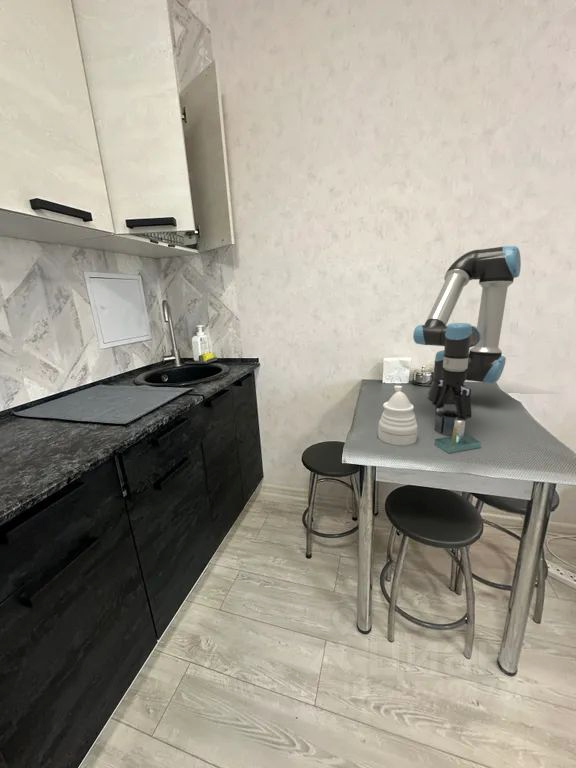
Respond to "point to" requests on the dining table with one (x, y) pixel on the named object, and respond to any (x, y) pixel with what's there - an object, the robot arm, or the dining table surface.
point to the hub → (445, 422)
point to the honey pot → (398, 420)
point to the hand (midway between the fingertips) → (448, 429)
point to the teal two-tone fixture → (457, 439)
